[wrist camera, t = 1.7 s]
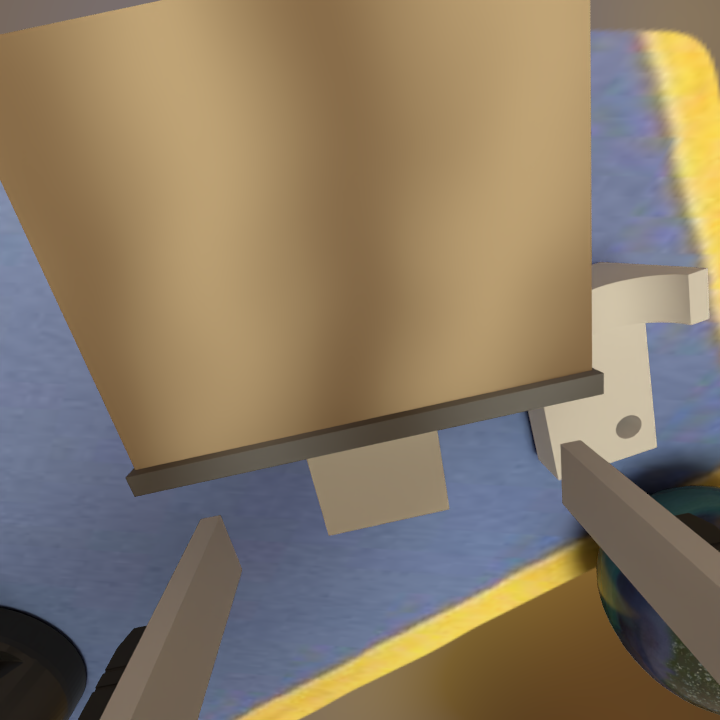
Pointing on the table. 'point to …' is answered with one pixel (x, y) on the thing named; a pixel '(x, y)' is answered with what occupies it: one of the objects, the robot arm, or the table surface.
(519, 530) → the table surface
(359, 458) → the tan cardboard carton
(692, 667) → the vase
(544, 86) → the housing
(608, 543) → the robot arm
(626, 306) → the bracket
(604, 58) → the table surface
